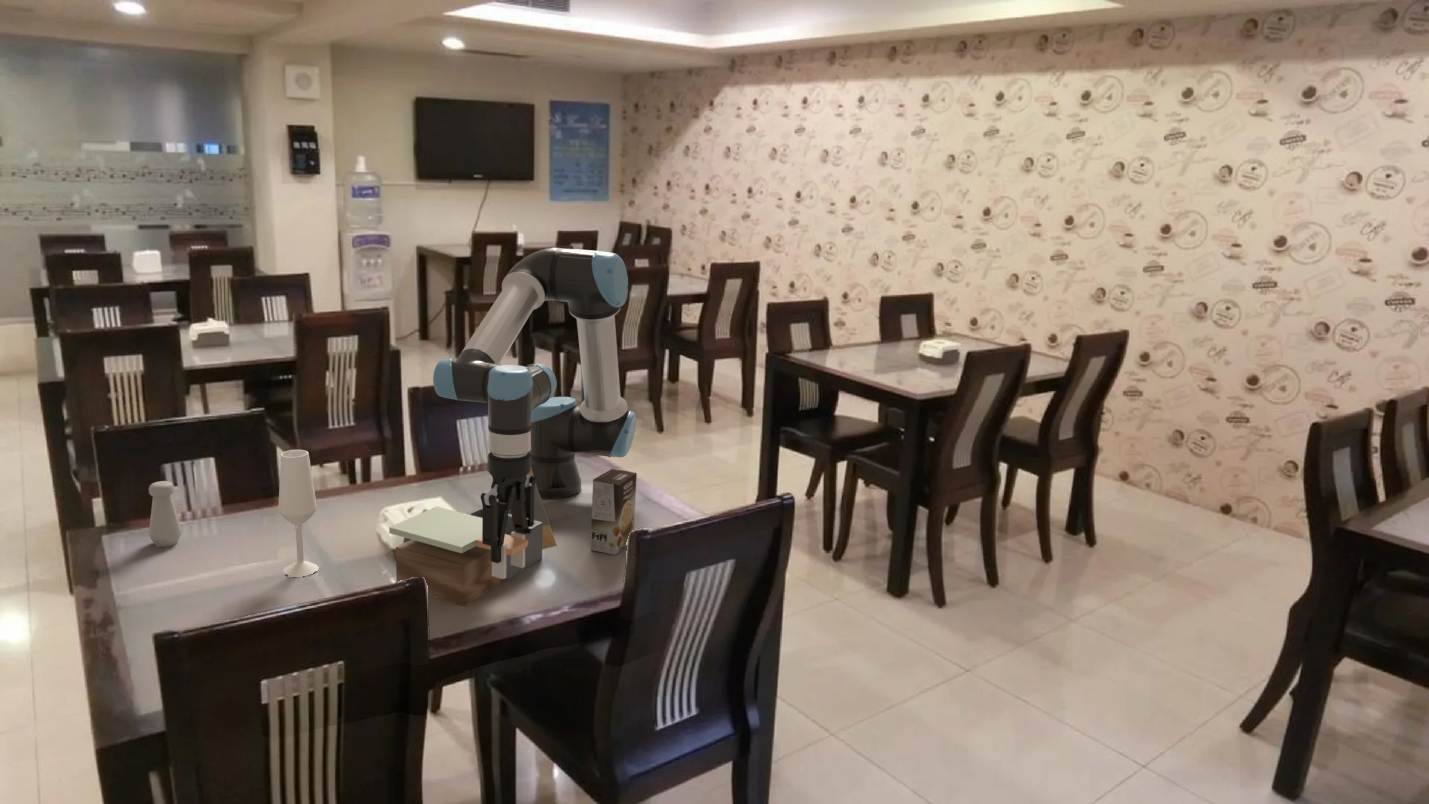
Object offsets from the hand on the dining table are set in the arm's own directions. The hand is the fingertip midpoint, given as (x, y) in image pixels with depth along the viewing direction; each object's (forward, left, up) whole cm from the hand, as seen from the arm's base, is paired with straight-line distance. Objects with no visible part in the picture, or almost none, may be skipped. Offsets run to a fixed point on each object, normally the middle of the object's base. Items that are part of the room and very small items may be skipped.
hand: (508, 570), depth 170 cm
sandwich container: (-27, -15, -7) cm, 32 cm away
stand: (0, -14, -6) cm, 15 cm away
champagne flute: (+10, -42, -7) cm, 44 cm away
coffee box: (-33, +3, -7) cm, 34 cm away
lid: (0, -10, +5) cm, 11 cm away
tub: (-14, -14, -6) cm, 21 cm away
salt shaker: (+15, -74, -7) cm, 76 cm away
